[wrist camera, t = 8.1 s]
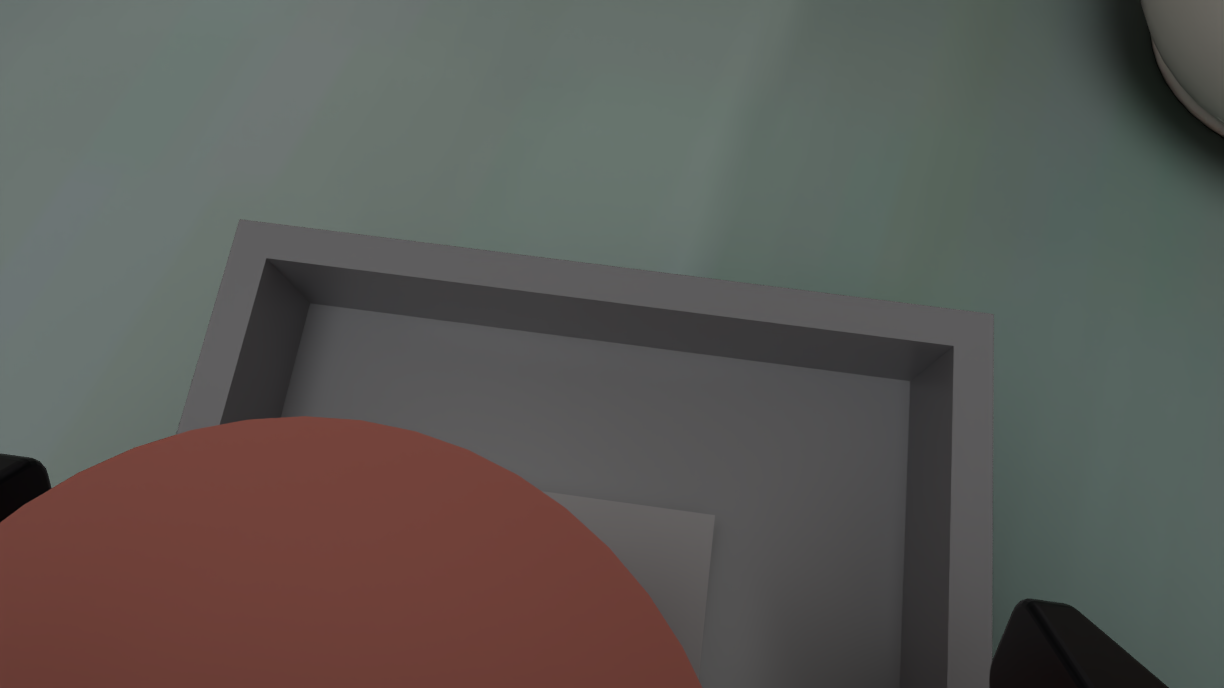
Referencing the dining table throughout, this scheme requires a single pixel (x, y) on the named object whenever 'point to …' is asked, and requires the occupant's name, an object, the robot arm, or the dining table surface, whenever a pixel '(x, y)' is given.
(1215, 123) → the lidded jar
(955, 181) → the dining table surface
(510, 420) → the bin
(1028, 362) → the dining table surface
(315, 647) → the red post on base
